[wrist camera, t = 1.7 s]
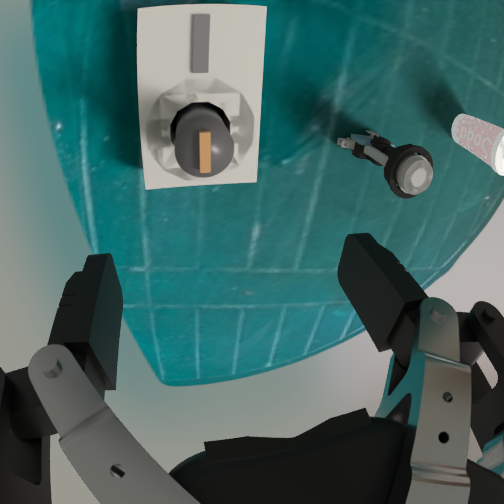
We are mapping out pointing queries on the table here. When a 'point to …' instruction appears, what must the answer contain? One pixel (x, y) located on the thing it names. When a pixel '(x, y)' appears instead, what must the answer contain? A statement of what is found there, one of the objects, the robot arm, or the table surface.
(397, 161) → the push button
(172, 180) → the light grey boxy piece
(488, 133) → the beverage cup
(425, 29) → the table surface
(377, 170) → the table surface
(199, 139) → the dark grey cylinder
